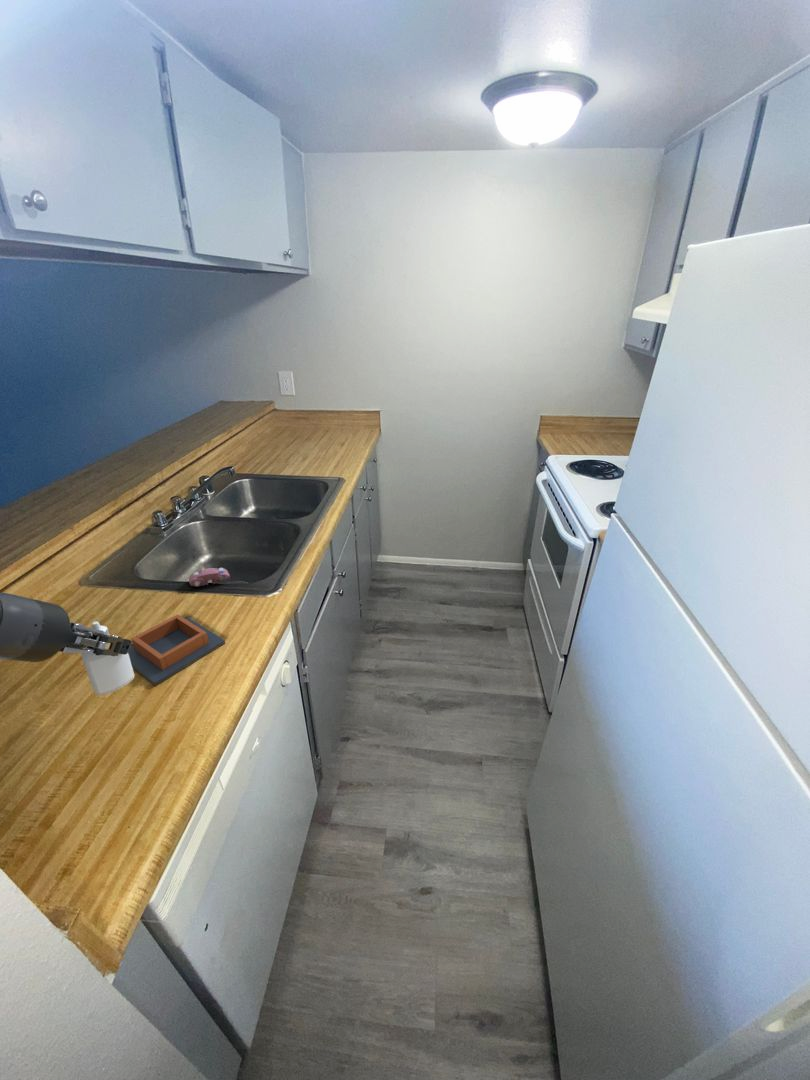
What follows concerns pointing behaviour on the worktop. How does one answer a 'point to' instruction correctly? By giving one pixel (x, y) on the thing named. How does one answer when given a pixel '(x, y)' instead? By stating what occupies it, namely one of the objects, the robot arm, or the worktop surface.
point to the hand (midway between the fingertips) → (114, 643)
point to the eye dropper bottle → (107, 669)
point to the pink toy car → (208, 576)
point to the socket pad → (171, 648)
